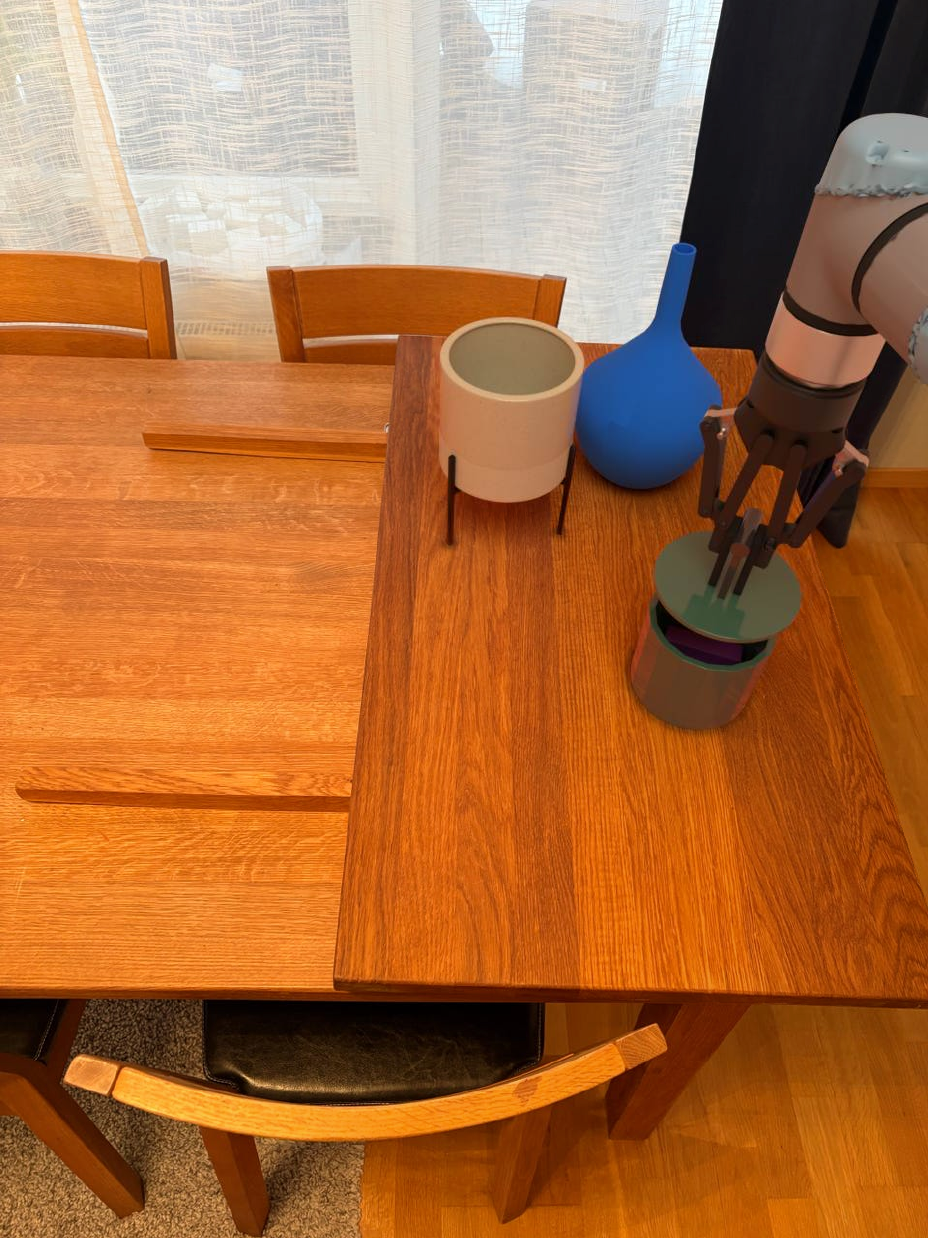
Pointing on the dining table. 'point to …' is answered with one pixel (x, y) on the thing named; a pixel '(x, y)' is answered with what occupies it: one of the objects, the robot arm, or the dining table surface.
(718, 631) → the lid
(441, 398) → the planter
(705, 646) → the purple rectangular block
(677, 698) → the cylinder
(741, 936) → the dining table surface
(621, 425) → the vase
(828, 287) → the robot arm
